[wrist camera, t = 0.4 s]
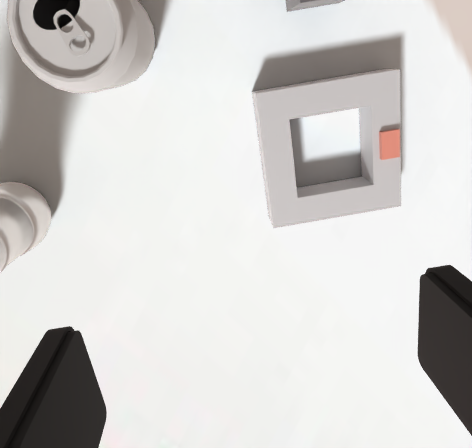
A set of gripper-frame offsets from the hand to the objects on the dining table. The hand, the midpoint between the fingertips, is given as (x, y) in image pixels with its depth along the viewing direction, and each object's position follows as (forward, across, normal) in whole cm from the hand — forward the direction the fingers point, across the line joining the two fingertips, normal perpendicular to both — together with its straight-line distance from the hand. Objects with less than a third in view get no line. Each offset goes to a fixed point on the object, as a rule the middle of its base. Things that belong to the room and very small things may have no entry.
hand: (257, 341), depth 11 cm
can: (+29, +8, -10) cm, 31 cm away
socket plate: (+28, -10, +1) cm, 30 cm away
